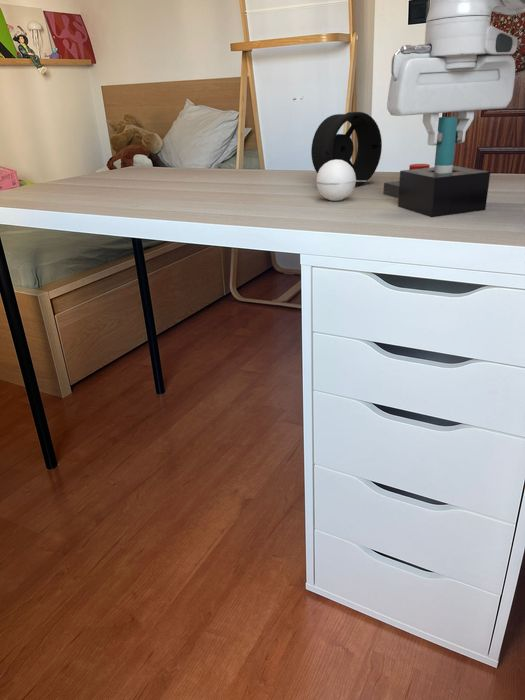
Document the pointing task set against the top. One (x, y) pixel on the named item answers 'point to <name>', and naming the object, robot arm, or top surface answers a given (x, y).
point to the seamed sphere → (336, 180)
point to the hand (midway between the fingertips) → (446, 144)
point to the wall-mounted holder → (348, 144)
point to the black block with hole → (443, 191)
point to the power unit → (391, 189)
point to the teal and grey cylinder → (446, 145)
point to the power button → (418, 166)
